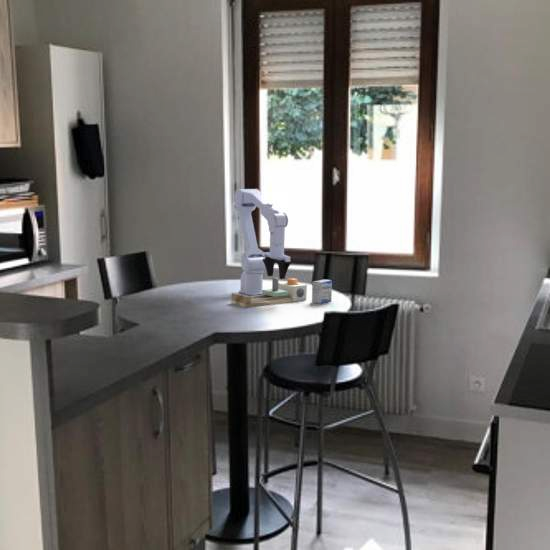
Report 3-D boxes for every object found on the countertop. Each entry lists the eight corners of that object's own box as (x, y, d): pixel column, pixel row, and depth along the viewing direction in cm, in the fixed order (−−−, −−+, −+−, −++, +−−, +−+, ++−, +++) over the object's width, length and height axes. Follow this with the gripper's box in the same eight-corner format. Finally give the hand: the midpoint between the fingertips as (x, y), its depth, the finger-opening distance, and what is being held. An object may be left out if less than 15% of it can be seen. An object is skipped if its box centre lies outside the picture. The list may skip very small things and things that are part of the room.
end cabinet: (277, 297, 306) (277, 282, 305) (290, 295, 311) (290, 281, 310) (293, 301, 298) (294, 286, 297) (306, 299, 303) (307, 285, 302)
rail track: (231, 303, 292) (232, 293, 291) (277, 297, 306) (277, 287, 306) (247, 307, 284) (247, 297, 283) (293, 301, 299) (293, 291, 298)
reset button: (285, 292, 304) (285, 278, 304) (292, 291, 307) (292, 277, 306) (291, 294, 301) (291, 280, 300) (298, 293, 304) (299, 279, 303)
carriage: (262, 293, 299) (262, 277, 298) (275, 292, 304) (275, 276, 303) (274, 297, 293) (275, 280, 292) (288, 295, 298) (288, 278, 297)
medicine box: (320, 304, 294) (321, 282, 293) (311, 302, 297) (312, 281, 296) (331, 301, 301) (332, 280, 299) (322, 299, 303) (323, 278, 302)
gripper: (257, 242, 299) (257, 275, 301) (281, 246, 287) (280, 280, 290) (271, 241, 303) (270, 274, 305) (294, 245, 292) (293, 279, 294)
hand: (276, 277), depth 298 cm, fingers open, 7 cm apart
